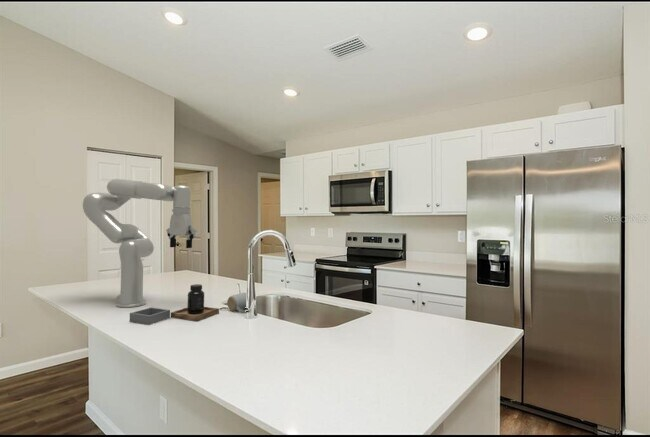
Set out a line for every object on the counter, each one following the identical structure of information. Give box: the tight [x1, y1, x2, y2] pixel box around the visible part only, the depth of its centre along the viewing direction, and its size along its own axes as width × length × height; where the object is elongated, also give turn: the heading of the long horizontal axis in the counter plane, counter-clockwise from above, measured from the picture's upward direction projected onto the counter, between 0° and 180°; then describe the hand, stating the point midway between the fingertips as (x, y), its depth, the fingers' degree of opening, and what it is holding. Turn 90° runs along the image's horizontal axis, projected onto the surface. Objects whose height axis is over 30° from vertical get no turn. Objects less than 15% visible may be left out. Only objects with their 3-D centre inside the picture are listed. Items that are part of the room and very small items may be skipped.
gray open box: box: [129, 307, 171, 326], centre depth 147 cm, size 11×11×4 cm
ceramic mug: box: [226, 292, 247, 314], centre depth 164 cm, size 11×8×8 cm
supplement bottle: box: [186, 283, 205, 315], centre depth 155 cm, size 7×7×12 cm
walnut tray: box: [170, 306, 220, 322], centre depth 155 cm, size 14×14×2 cm
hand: (180, 247), depth 169 cm, fingers open, 9 cm apart
